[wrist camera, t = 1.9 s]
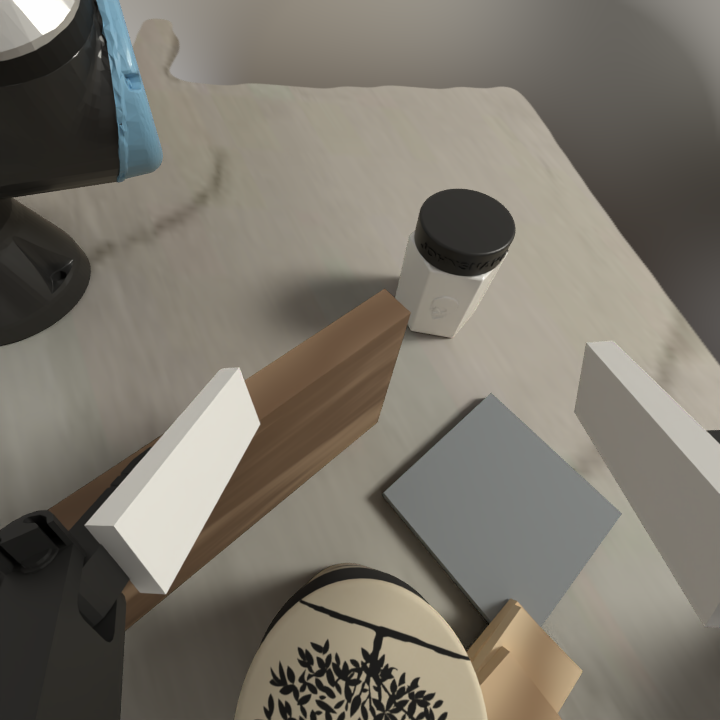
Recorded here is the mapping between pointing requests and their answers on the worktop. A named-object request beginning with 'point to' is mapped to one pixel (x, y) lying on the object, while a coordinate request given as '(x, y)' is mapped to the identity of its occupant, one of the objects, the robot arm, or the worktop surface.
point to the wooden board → (285, 429)
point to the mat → (502, 512)
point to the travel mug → (360, 656)
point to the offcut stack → (521, 668)
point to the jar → (452, 259)
